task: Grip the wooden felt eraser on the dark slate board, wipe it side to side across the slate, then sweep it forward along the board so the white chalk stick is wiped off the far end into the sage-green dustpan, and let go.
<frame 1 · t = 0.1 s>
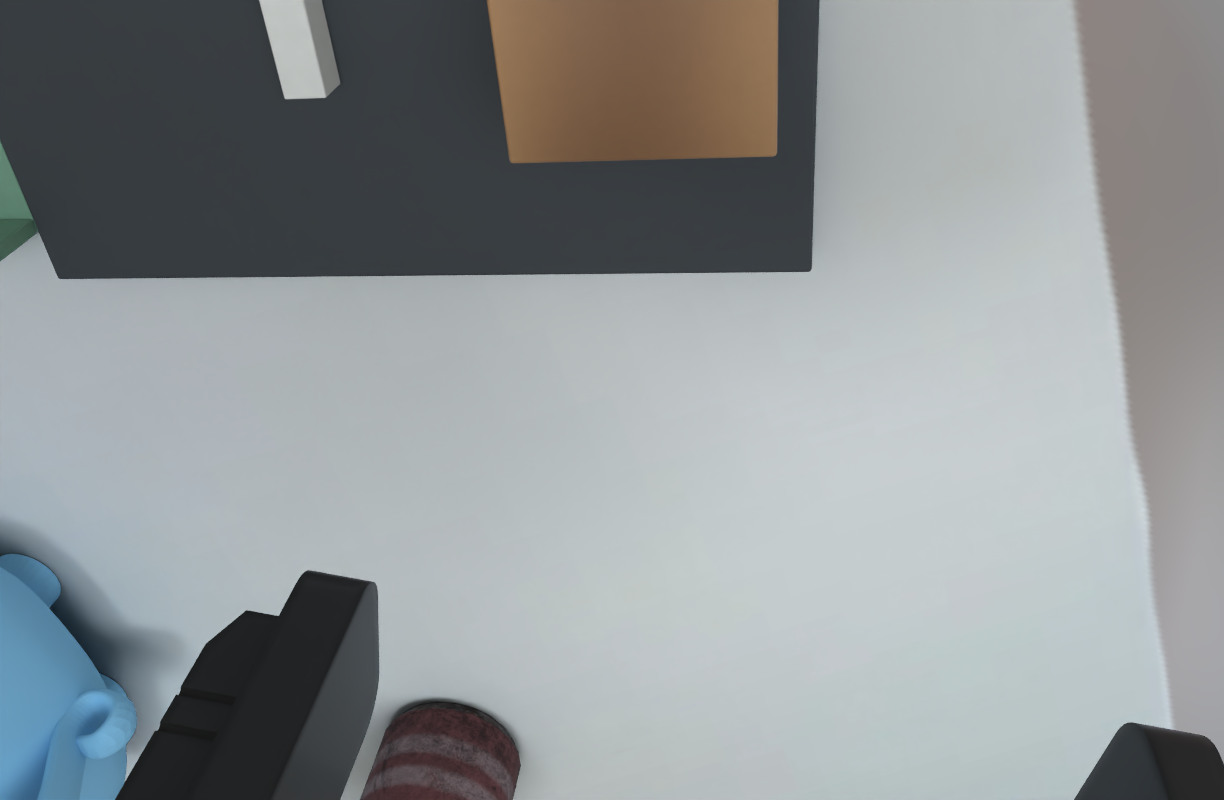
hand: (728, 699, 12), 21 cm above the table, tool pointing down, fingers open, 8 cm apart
chalk: (303, 10, 28), point 1 cm above the table, touching slate
can: (454, 737, 47), on the table
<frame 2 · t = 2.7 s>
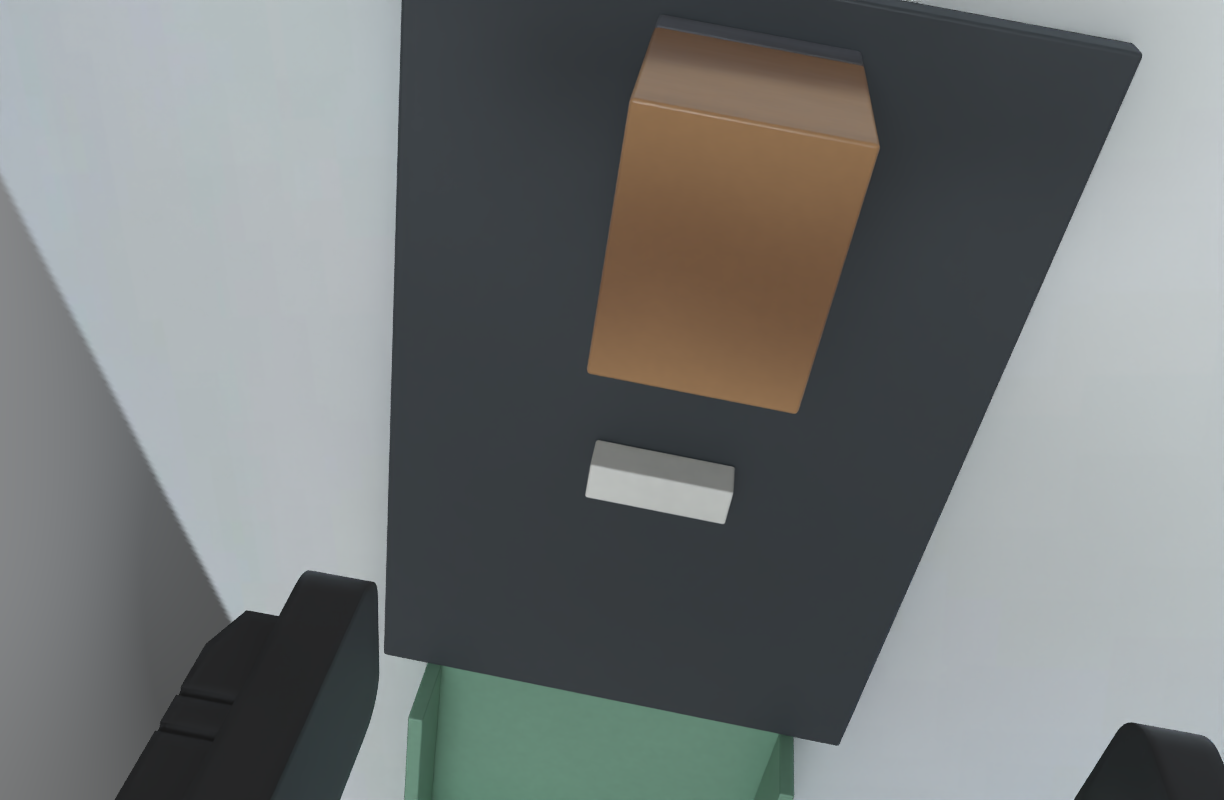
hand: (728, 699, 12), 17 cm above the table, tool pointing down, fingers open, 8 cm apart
dustpan: (593, 772, 40), on the table
eraser: (731, 159, 25), point 1 cm above the table, touching slate
chalk: (662, 468, 30), point 1 cm above the table, touching slate
slate: (673, 411, 30), on the table
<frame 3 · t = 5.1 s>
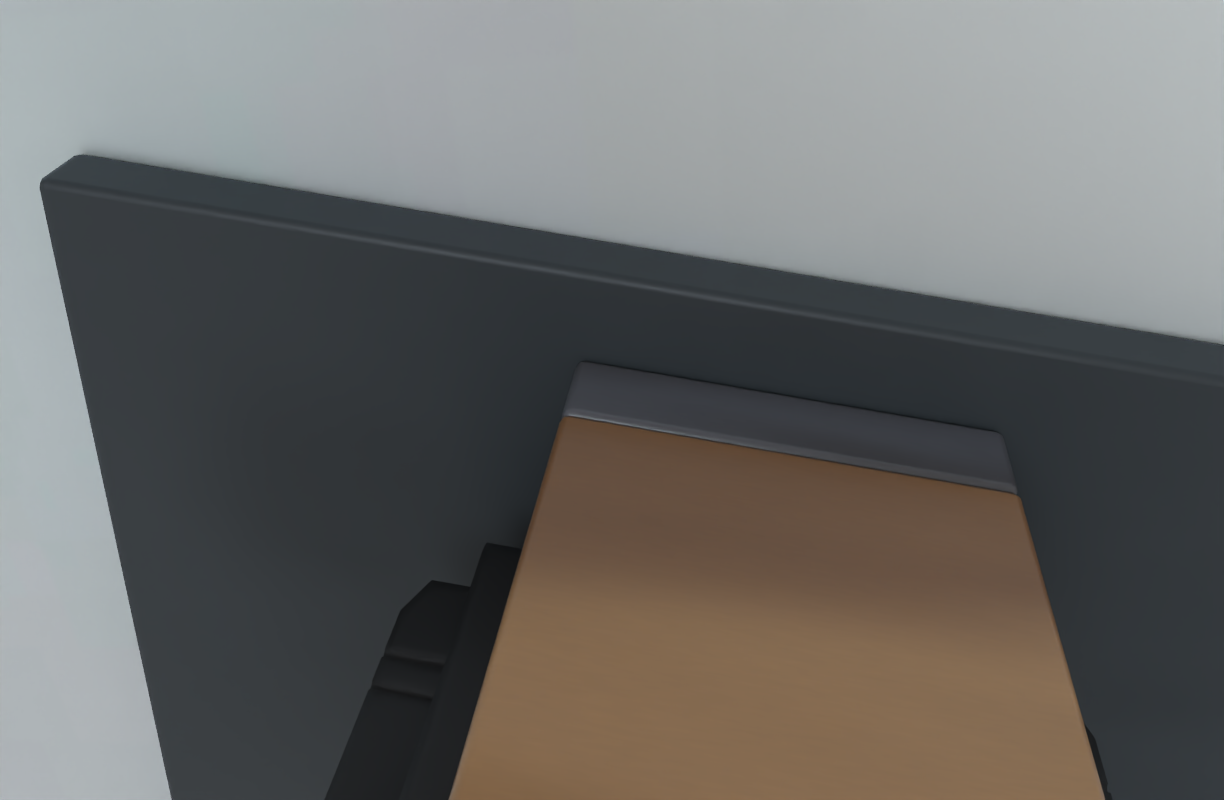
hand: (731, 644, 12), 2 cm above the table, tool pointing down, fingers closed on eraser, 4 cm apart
eraser: (736, 593, 13), point 1 cm above the table, touching gripper, slate
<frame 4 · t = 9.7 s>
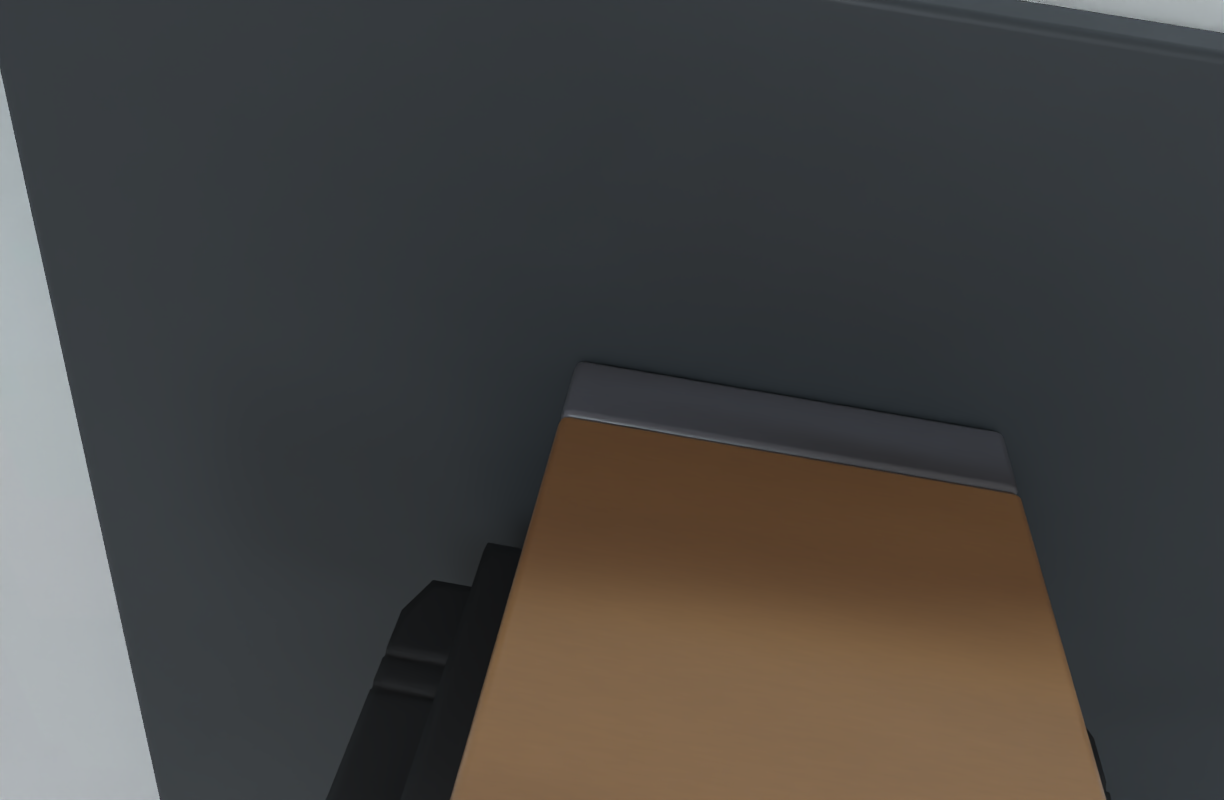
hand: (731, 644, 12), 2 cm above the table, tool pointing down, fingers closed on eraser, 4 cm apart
eraser: (736, 593, 13), point 1 cm above the table, touching gripper
slate: (667, 778, 16), on the table
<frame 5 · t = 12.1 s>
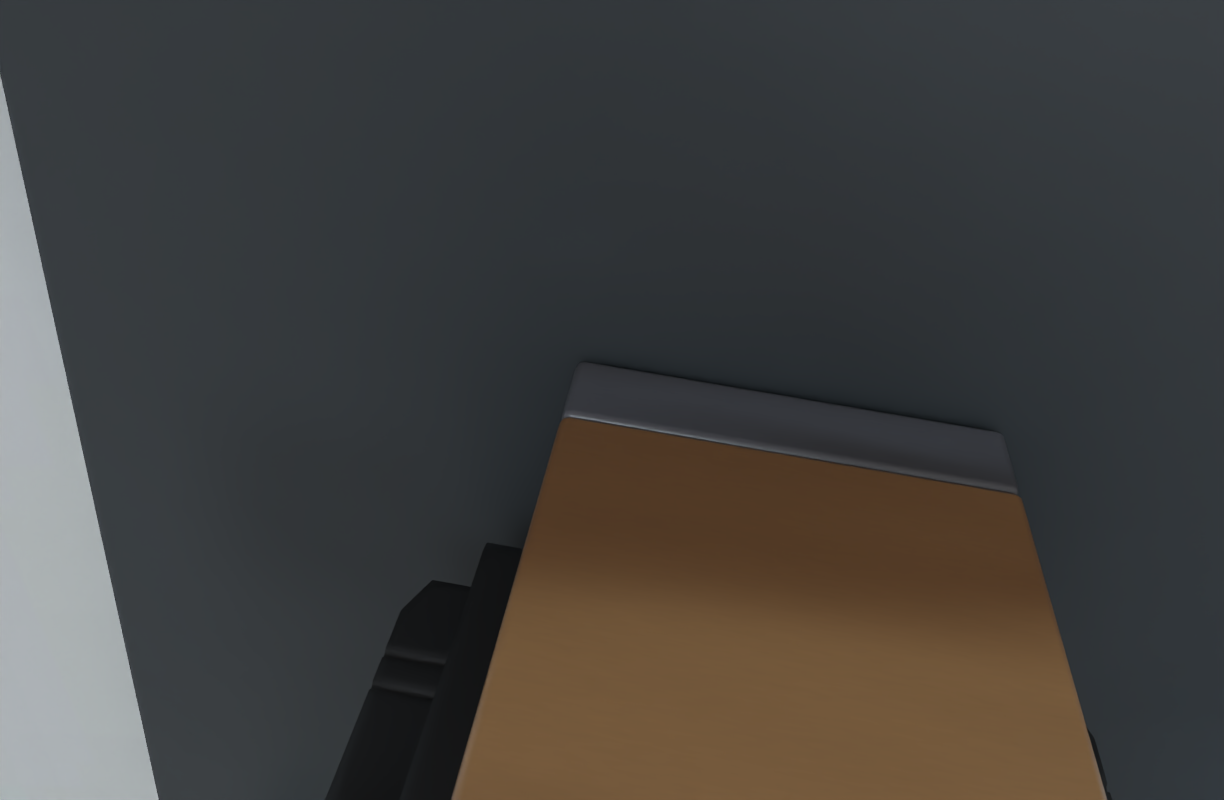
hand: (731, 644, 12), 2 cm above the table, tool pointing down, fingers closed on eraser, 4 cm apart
eraser: (737, 593, 13), point 1 cm above the table, touching gripper
slate: (801, 225, 11), on the table
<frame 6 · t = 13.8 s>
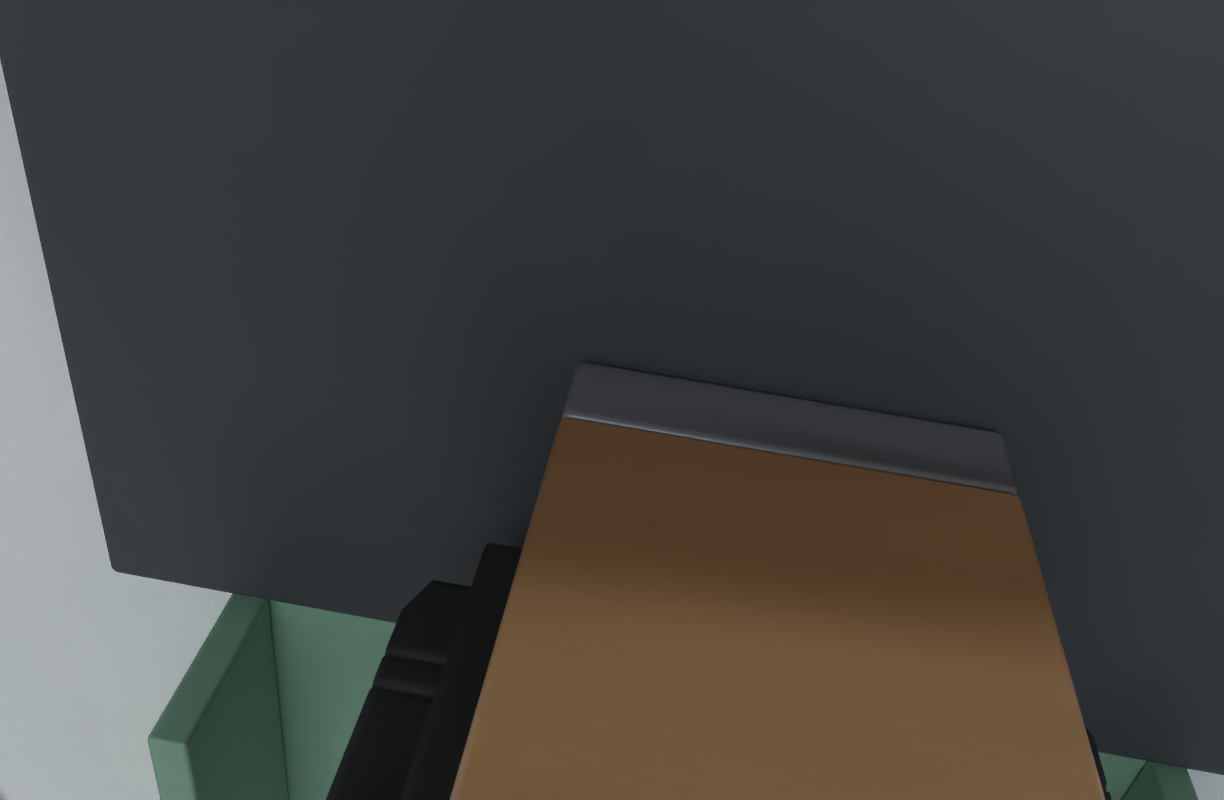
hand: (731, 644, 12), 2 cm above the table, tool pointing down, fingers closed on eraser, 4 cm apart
eraser: (736, 593, 13), point 1 cm above the table, touching chalk, gripper, slate
when the fingers open (2 cm above the table, at t = 14.3 s): eraser stays where it is, resting on slate.
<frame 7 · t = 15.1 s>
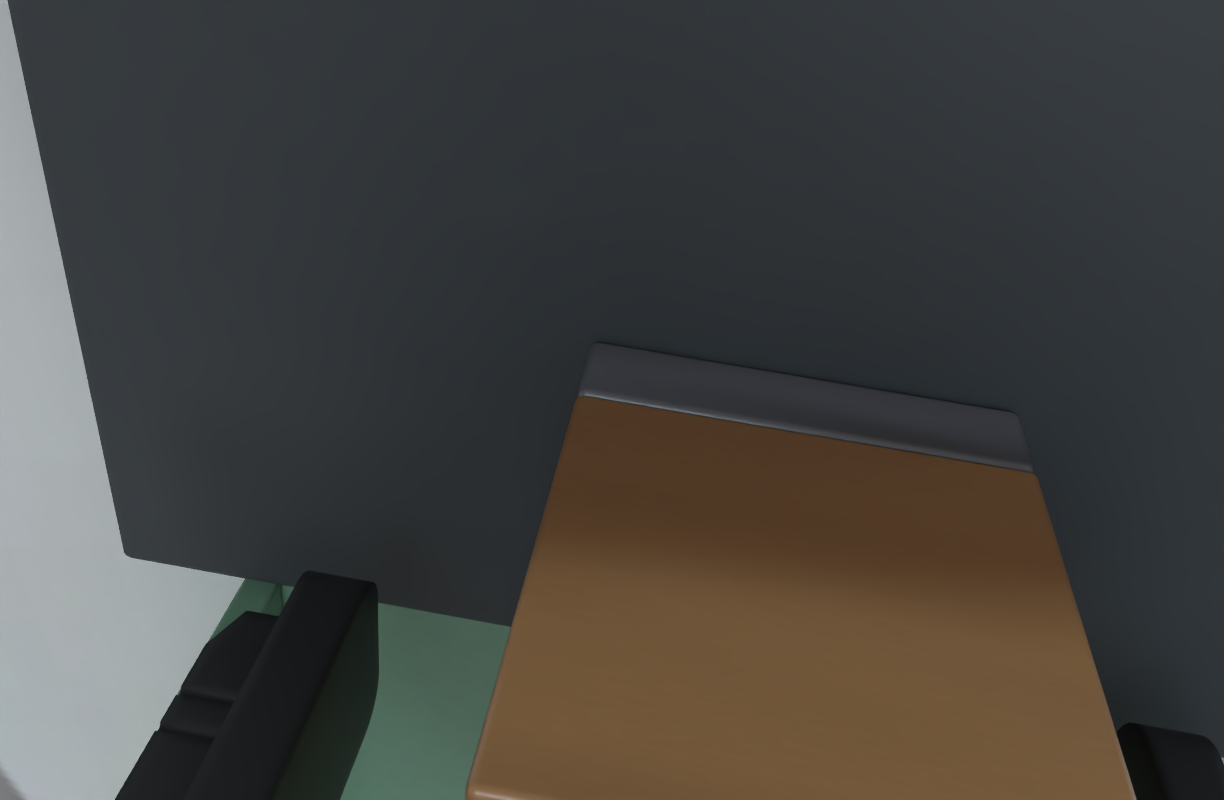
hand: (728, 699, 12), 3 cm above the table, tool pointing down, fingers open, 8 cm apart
eraser: (749, 577, 13), point 1 cm above the table, touching slate
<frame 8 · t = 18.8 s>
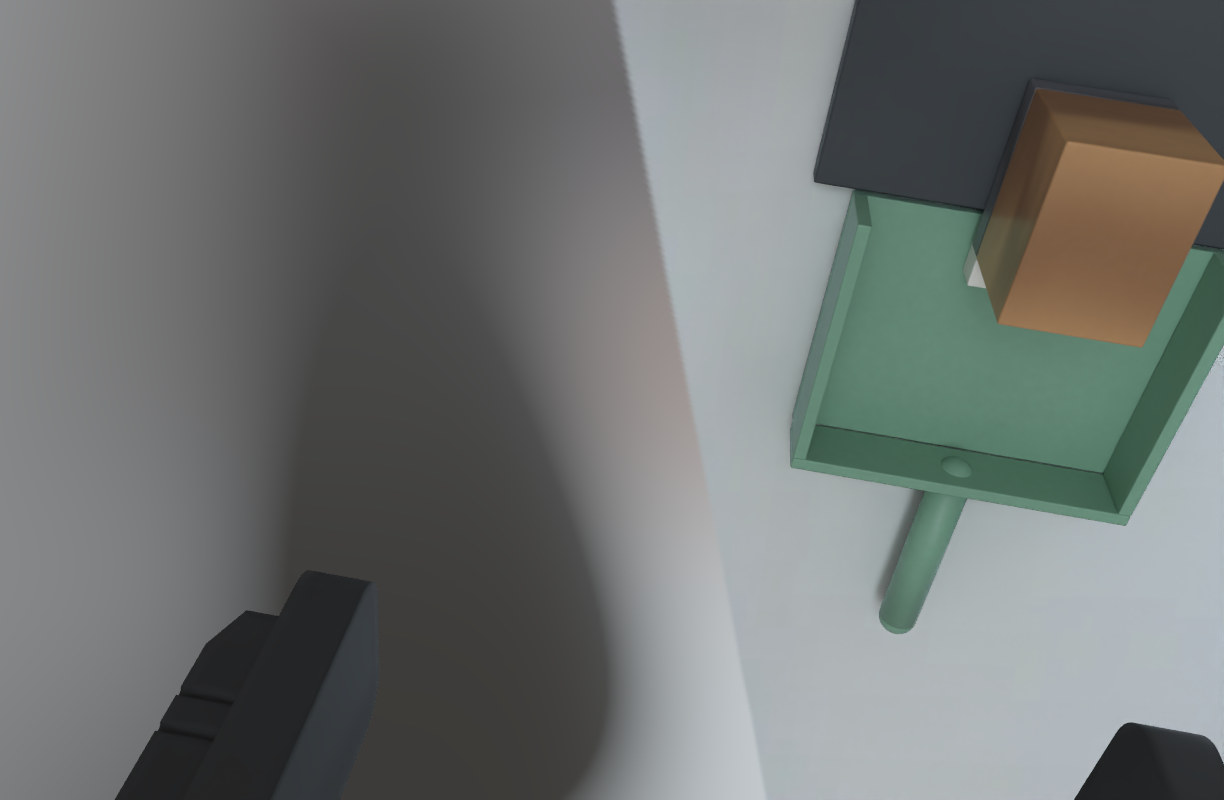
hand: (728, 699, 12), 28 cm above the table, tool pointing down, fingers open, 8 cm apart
dustpan: (991, 338, 40), on the table
eraser: (1066, 175, 35), point 1 cm above the table, touching slate
chalk: (1023, 264, 38), resting on dustpan
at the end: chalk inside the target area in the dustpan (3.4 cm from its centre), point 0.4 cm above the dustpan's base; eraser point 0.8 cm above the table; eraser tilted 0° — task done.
